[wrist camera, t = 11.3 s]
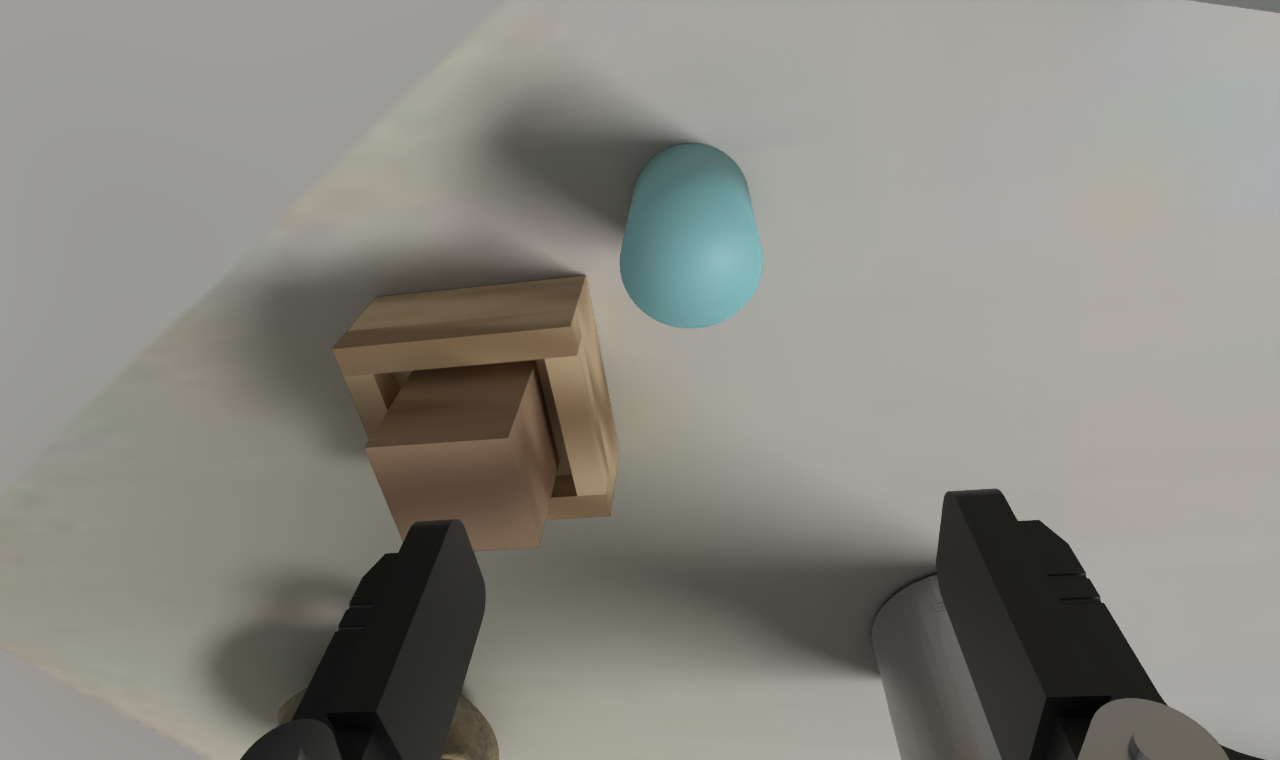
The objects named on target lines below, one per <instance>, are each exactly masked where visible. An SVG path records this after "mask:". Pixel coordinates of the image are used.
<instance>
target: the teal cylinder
mask: <svg viewBox="0 0 1280 760" xmlns="http://www.w3.org/2000/svg"><path fill="white" fill-rule="evenodd" d="M762 267H763V256H762V248H761V244H760V239H759V235H758V230H757V226H756V221H755V217H754V212H753V208H752V203H751V199H750V194H749V190H748V186H747V182H746V179H745V177H744V175H743V173H742V171H741V169H740V168H739V166H738V165H737V164H736V163H735V161H734V160H732V159H731V158H730V157H729V156H728V155H727V154H725V153H724V152H722V151H720V150H718V149H717V148H714V147H711V146H709V145H704V144H698V143H685V144H680V145H675V146H672V147H669V148H667V149H665V150H663V151H661V152H660V153H658V154H657V155H655V156H654V157H653V158H652V159H651V160H650V161H649V162H648V163H647V164H646V165H645V167H644V168H643V170H642V171H641V173H640V174H639V177H638V179H637V181H636V184H635V187H634V192H633V197H632V201H631V206H630V211H629V215H628V220H627V225H626V230H625V234H624V239H623V244H622V249H621V254H620V272H621V277H622V281H623V284H624V286H625V289H626V291H627V292H628V294H629V296H630V298H631V299H632V300H633V302H634V303H635V304H636V305H637V306H638V307H639V308H640V309H641V310H642V311H643V312H644V313H646V314H647V315H648V316H650V317H652V318H653V319H655V320H657V321H659V322H661V323H664V324H667V325H670V326H674V327H679V328H701V327H707V326H711V325H714V324H717V323H720V322H722V321H724V320H726V319H728V318H730V317H731V316H733V315H734V314H735V313H737V312H738V311H739V310H740V309H741V308H743V307H744V306H745V305H746V303H747V302H748V301H749V300H750V298H751V297H752V295H753V294H754V292H755V290H756V288H757V286H758V284H759V281H760V277H761V273H762Z"/></svg>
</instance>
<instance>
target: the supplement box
mask: <svg viewBox="0 0 1280 760" xmlns="http://www.w3.org/2000/svg"><path fill="white" fill-rule="evenodd" d="M1189 1H1196V2H1203V3H1211V4H1219V5H1226V6H1234V7H1241V8H1248V9H1254V10H1261V11H1268V12H1276V13H1280V0H1189Z"/></svg>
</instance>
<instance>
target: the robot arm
mask: <svg viewBox="0 0 1280 760" xmlns="http://www.w3.org/2000/svg"><path fill="white" fill-rule="evenodd" d="M936 568H937V575H934V576H930V577H927V578H925V579H923V580H920V581H918V582H915V583H913V584H911V585H909V586H908V587H906V588H904V589H903V590H901V591H900V592H898V593H896V594H895V595H894V596H893V597H892V598H891V599H890V600H889V601H888V602H886V603H885V604H884V606H883V607H882V608H881V610H880V611H879V613H878V614H877V616H876V618H875V621H874V623H873V626H872V643H873V647H874V651H875V655H876V659H877V663H878V667H879V671H880V675H881V679H882V683H883V687H884V691H885V695H886V699H887V703H888V708H889V712H890V716H891V720H892V724H893V728H894V732H895V736H896V740H897V744H898V748H899V752H900V756H901V760H1264V759H1260V758H1256V757H1252V756H1249V755H1246V754H1242V753H1239V752H1236V751H1234V750H1231V749H1229V748H1226V747H1224V746H1222V745H1220V744H1219V743H1218V742H1217V741H1216V739H1215V738H1214V737H1213V736H1212V735H1211V734H1210V733H1209V732H1208V731H1207V730H1206V729H1204V728H1203V727H1202V726H1201V725H1199V724H1198V723H1197V722H1196V721H1194V720H1193V719H1191V718H1189V717H1188V716H1186V715H1185V714H1183V713H1181V712H1179V711H1177V710H1175V709H1173V708H1171V707H1169V706H1168V705H1167V704H1166V703H1165V702H1164V700H1163V699H1162V698H1161V696H1160V695H1159V693H1158V692H1157V690H1156V688H1155V687H1154V685H1153V683H1152V682H1151V680H1150V678H1149V677H1148V675H1147V673H1146V672H1145V670H1144V668H1143V667H1142V665H1141V663H1140V662H1139V660H1138V659H1137V657H1136V655H1135V654H1134V652H1133V650H1132V649H1131V647H1130V645H1129V644H1128V642H1127V640H1126V639H1125V637H1124V635H1123V634H1122V632H1121V630H1120V629H1119V627H1118V625H1117V624H1116V622H1115V620H1114V619H1113V617H1112V615H1111V614H1110V612H1109V611H1108V609H1107V607H1106V606H1105V604H1104V603H1101V601H1100V596H1099V594H1098V592H1097V591H1096V589H1095V587H1094V586H1093V584H1092V582H1091V581H1090V579H1087V578H1086V572H1085V571H1084V569H1083V567H1082V566H1081V564H1080V562H1079V561H1078V559H1077V558H1076V556H1075V554H1074V553H1073V551H1072V549H1071V548H1070V546H1069V544H1068V543H1066V542H1065V541H1064V540H1063V539H1062V538H1060V537H1059V536H1058V535H1057V534H1055V533H1054V532H1053V531H1052V530H1051V529H1049V528H1048V527H1047V526H1046V525H1044V524H1043V523H1042V522H1041V521H1040V520H1032V521H1017V519H1016V517H1015V515H1014V513H1013V512H1012V510H1011V508H1010V506H1009V504H1008V502H1007V501H1006V499H1005V497H1004V495H1003V494H1002V493H1001V491H1000V490H998V489H981V490H964V491H949V492H947V493H946V494H945V496H944V501H943V509H942V517H941V525H940V533H939V542H938V550H937V559H936ZM485 599H486V596H485V584H484V580H483V576H482V574H481V571H480V568H479V565H478V563H477V560H476V557H475V554H474V551H473V549H472V546H471V543H470V540H469V538H468V535H467V532H466V529H465V527H464V524H463V523H462V522H461V521H460V520H459V519H450V520H433V521H417V522H415V523H413V524H412V526H411V527H410V529H409V531H408V533H407V535H406V537H405V540H404V542H403V544H402V546H401V548H400V550H399V553H389V554H385V555H384V556H383V557H382V558H381V559H380V560H379V561H378V562H377V563H376V564H375V565H374V566H373V567H372V568H371V569H370V570H369V571H368V572H367V573H366V574H365V575H364V577H363V578H362V580H361V582H360V584H359V586H358V588H357V590H356V592H355V594H354V596H353V598H352V600H351V602H350V604H349V605H350V608H349V609H348V610H346V612H345V614H344V616H343V618H342V620H341V622H340V624H339V626H338V627H339V630H338V632H335V634H334V636H333V638H332V640H331V642H330V644H329V646H328V648H327V650H326V652H325V654H324V656H323V658H322V660H321V662H320V664H319V666H318V668H317V670H316V672H315V674H314V676H313V678H312V680H311V682H310V684H309V686H308V688H307V690H306V692H305V694H304V696H303V698H302V700H301V702H300V704H299V706H298V708H297V710H296V712H295V714H294V716H293V718H292V719H291V721H290V722H287V723H285V724H282V725H280V726H278V727H276V728H274V729H272V730H271V731H269V732H268V733H266V734H265V735H263V736H262V737H261V738H260V739H258V740H257V741H256V742H255V743H254V744H253V745H252V746H251V747H250V748H249V749H248V750H247V751H246V753H245V754H244V755H243V756H242V758H241V759H240V760H441V757H442V754H443V751H444V747H445V744H446V740H447V737H448V734H449V730H450V727H451V724H452V720H453V717H454V713H455V710H456V707H457V703H458V700H459V697H460V693H461V690H462V686H463V683H464V680H465V676H466V673H467V670H468V666H469V663H470V659H471V656H472V653H473V649H474V646H475V643H476V639H477V636H478V633H479V629H480V626H481V622H482V619H483V615H484V610H485Z"/></svg>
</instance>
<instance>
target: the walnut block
mask: <svg viewBox="0 0 1280 760" xmlns="http://www.w3.org/2000/svg"><path fill="white" fill-rule="evenodd" d="M365 451H366V453H367V456H368V458H369V460H370V463H371V465H372V468H373V470H374V473H375V475H376V477H377V480H378V482H379V485H380V487H381V490H382V492H383V494H384V497H385V499H386V502H387V504H388V506H389V509H390V511H391V514H392V516H393V519H394V521H395V523H396V526H397V528H398V531H399V533H400V535H401V538H402V540H403V542H404V540H405V537H406V535H407V533H408V531H409V529H410V527H411V526H412V524H413V523H415V522H417V521H433V520H450V519H459V520H460V521H461V522H462V523H463V524H464V527H465V529H466V532H467V535H468V538H469V540H470V543H471V546H472V549H473V551H481V550H501V549H521V548H539V544H540V540H541V536H542V532H543V528H544V523H545V519H546V515H547V511H548V507H549V503H550V499H551V495H552V491H553V487H554V482H555V478H556V474H557V470H558V466H559V462H560V461H559V457H558V453H557V448H556V444H555V440H554V436H553V431H552V427H551V423H550V419H549V415H548V410H547V406H546V402H545V398H544V393H543V389H542V385H541V381H540V377H539V372H538V368H537V364H536V360H535V361H523V362H511V363H498V364H486V365H474V366H462V367H449V368H437V369H425V370H413V371H412V372H411V374H410V376H409V377H408V379H407V380H406V382H405V384H404V385H403V387H402V388H401V390H400V392H399V393H398V395H397V396H396V398H395V400H394V401H393V403H392V404H391V406H390V408H389V409H388V411H387V412H386V414H385V416H384V417H383V419H382V420H381V422H380V424H379V425H378V427H377V428H376V430H375V432H374V433H373V435H372V436H371V438H370V440H369V441H368V443H367V445H366V446H365Z"/></svg>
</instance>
